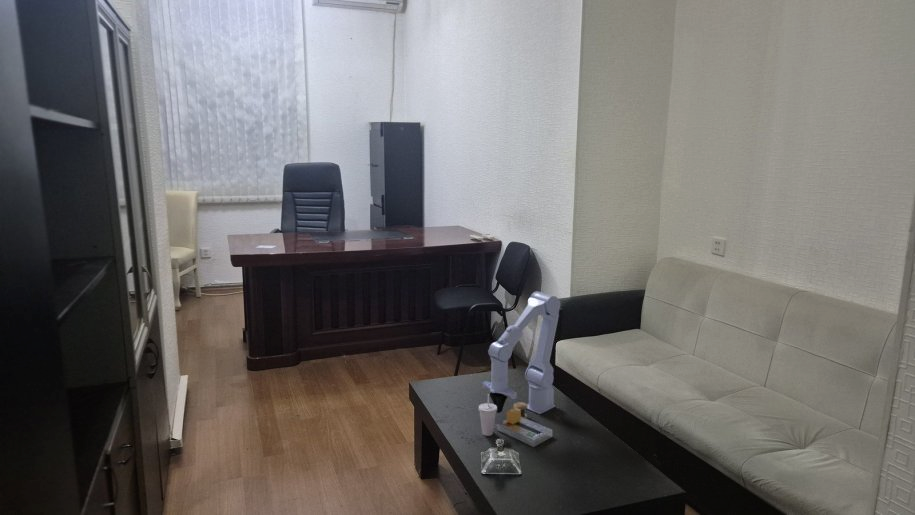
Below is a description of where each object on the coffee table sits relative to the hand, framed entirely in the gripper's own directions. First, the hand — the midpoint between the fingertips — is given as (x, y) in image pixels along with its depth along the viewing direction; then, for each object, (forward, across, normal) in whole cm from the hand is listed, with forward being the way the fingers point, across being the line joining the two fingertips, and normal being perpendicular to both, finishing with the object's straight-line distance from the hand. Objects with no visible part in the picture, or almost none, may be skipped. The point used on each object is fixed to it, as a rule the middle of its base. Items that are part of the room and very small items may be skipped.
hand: (498, 411), depth 212 cm
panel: (+4, +12, 0) cm, 13 cm away
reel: (+4, +3, +8) cm, 10 cm away
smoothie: (+4, +3, -9) cm, 10 cm away
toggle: (+1, +7, 0) cm, 7 cm away
